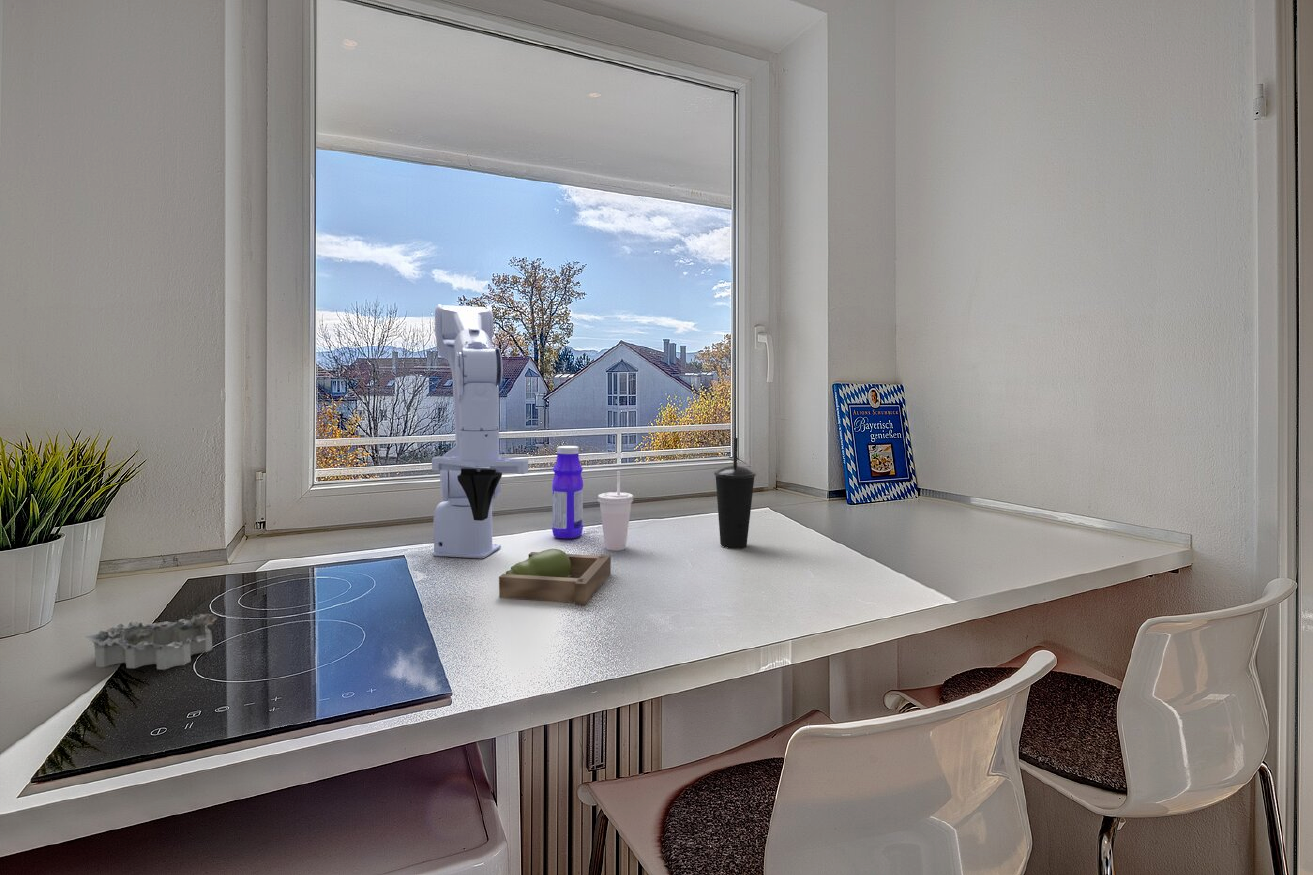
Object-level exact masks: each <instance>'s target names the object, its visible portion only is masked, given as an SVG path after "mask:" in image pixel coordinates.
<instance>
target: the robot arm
mask: <svg viewBox="0 0 1313 875" xmlns="http://www.w3.org/2000/svg"><path fill="white" fill-rule="evenodd" d="M434 308H435V309H434V331H435V342H436V350H437V355H438V356H439V357H441V358H443V359H445V360H446V361H447V362H448V365H449V369H450V372H451V376H452V377H451V378H452V392H453V398H452V399H453V414H454V417H453V418H454V433H455V434H454V435H455V445H454V447H453V448H451V449H450V450H448V451H447V452H446V453H444V454H443V455H442V456H434V457H431V470H432V471H435V472H436V471H437V472H439V471H440V474H439V479H440V481H439V482H440V487H439V488H440V497H441V499H442V500H443V501H441V502H439V503H438V504H437V506H436V508H435V509H434V513H433V514H434V515H433V522H432V523H433V552H431V555H432V556H433V557H434V556H435V557H453V558H467V559H468V558H470V559H471V558H472V559H485V558H486V557H488V556H489V555H491V554H492V553H494V552H496V551H497V550H498V549H500V548H501V547H502V545H501V544H499V543H498V544H497V543H493V504H494V499H498V497H499V496H500V494H501V486H502V485H501V483H502V482H501V478H502V477H503V473H506V474H507V473H508V474H509V473H511V474H517V475H525V474H527V473H529V459H523V458H522V459H521V458H510V457H501V456H500V403H499V402H500V401H499V400H500V399H499V398H500V397H499V396H500V395H499V394H500V391H499V388H501V386H502V382H503V369H504V368H503V366H504V365H503V357H502V353H501V350H500V348H499V347H493V342H492V341H493V336H494V311H493V310H492V308H491V307H490V306H487V305H485V307H484V306H467V305H466V306H464V305H463V306H461V305H442V304H437V305H436V307H434Z"/></svg>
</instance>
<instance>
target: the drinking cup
mask: <svg viewBox="0 0 1313 875" xmlns="http://www.w3.org/2000/svg"><path fill="white" fill-rule="evenodd" d="M738 441H739V440H738V437H733V460H732V461H733V465H727V466H724V467H721V468H719V469H718V470H715V471H714V472H713V475H714V476H715V483H716V484H715V485H716V500H717V513H718V527H719V530H718V531H719V542H720V544H721V545H722V546H724V547H723V548H725V547H728V548H727V549H731V548H740V549H744V547H745V548H746V547H747V544H748V536H749V528H750V520H751V510H752V502H753V501H752V500H753V493H754V485H755V484H754V482H755V477H757V473H756V472H755V471H752V470H751V469H750V468H747V467H745V466H740V465H738V446H739V445H738ZM720 544H719V545H720ZM721 545H720V546H721ZM722 546H721V547H722Z"/></svg>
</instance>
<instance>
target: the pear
mask: <svg viewBox="0 0 1313 875" xmlns="http://www.w3.org/2000/svg"><path fill="white" fill-rule="evenodd" d="M538 552H539V553H536V554H534V555H532V556H531V557H530V558H528V557H527V559H526V560H524V561H519V562H517V563H515V564H513V565H512V566H511V567H510V569H509V570H507V571H505V573H504V574H515V575H531V576H548V577H564V578H569V576H570V575H569V574H570V572H571V562H570V559H569V557H568V556H567V554H568V553H566V552H565V551H563V550H562V549H558V548H549V549H544V550H542V551H538Z"/></svg>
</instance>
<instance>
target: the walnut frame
mask: <svg viewBox="0 0 1313 875" xmlns="http://www.w3.org/2000/svg"><path fill="white" fill-rule="evenodd" d="M539 552H540V551H538V552H537V551H531V552H530V553H528V555H527V556H528V557H527V559H528V558H530V557H531V556H532V555H534V554H536V553H539ZM566 554H567V556H568V557H569V559H570V562H571V572H570V574H569V576H574V577H568V578H564V577H548V576H531V575H515V574H505V573H502V574H500V575H499V576H498V598H501V599H512V600H513V599H515V600H529V601H530V600H532V601H544V602H545V601H546V602H557V603H558V602H560V603H573V604H574V605H575V606H576V605H577V606H586V605H588V603H589V602H590V601H591V599H592V598H593V597H594V596H595V594H596V592H597V591H598V590H599V589H600V588H601V586H602V585H603V584H604V583H605V581H606V580H607V579H608V578H609V576H610V575H611V574H612V573H611V571H612V569H611V568H612V562H611V558H612V557H611V556H612V555H611V554H600V555H595V554H594V555H593V554H591V555H590V554H577V553H576V554H575V553H574V554H573V553H566ZM575 576H576V577H575Z"/></svg>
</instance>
